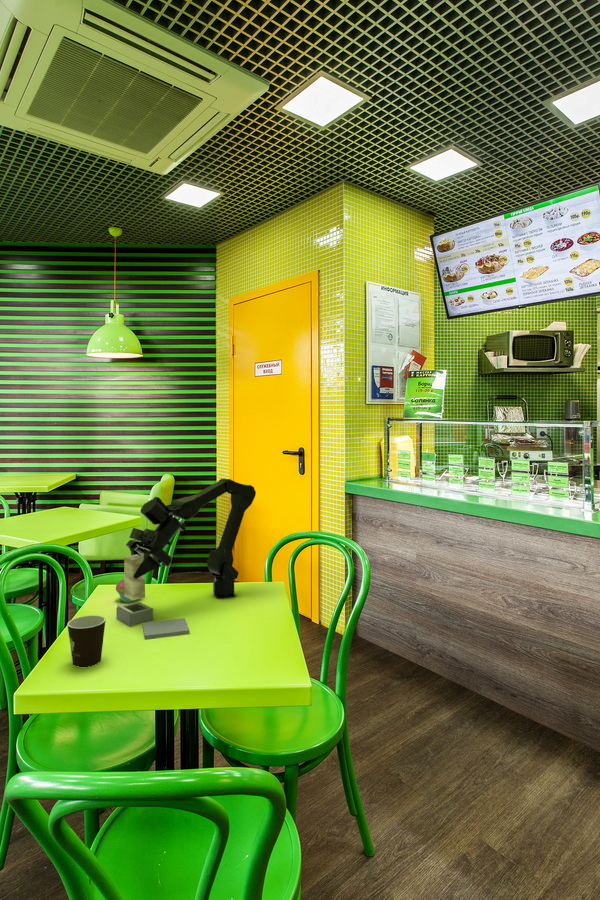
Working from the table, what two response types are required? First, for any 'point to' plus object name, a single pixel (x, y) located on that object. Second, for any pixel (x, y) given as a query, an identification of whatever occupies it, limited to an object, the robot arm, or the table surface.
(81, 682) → the table surface
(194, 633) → the table surface
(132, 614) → the dispenser sleeve
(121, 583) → the cupcake
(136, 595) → the cream square pillar
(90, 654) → the coffee mug
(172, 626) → the rubber mat
